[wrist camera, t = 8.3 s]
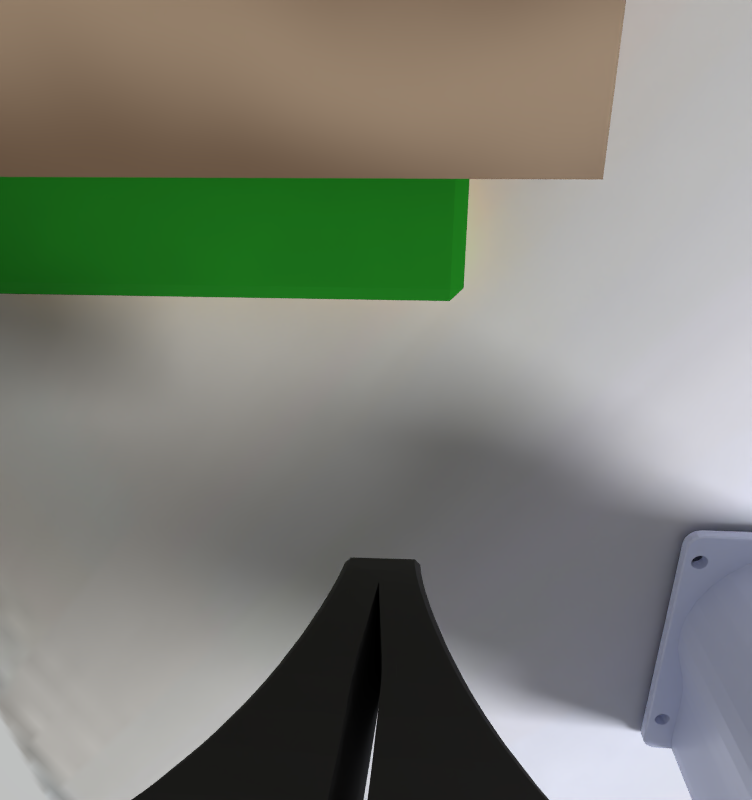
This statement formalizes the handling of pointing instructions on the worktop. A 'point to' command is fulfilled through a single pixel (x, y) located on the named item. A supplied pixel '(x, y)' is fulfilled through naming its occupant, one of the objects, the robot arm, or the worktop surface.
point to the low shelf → (307, 88)
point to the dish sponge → (234, 237)
